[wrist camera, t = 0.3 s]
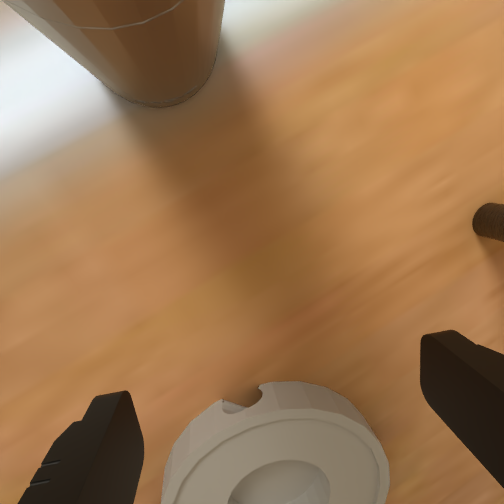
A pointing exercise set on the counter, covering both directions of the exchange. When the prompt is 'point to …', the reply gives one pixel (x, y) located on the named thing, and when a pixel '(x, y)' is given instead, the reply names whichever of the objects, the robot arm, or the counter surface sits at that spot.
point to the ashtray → (278, 452)
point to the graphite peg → (490, 221)
